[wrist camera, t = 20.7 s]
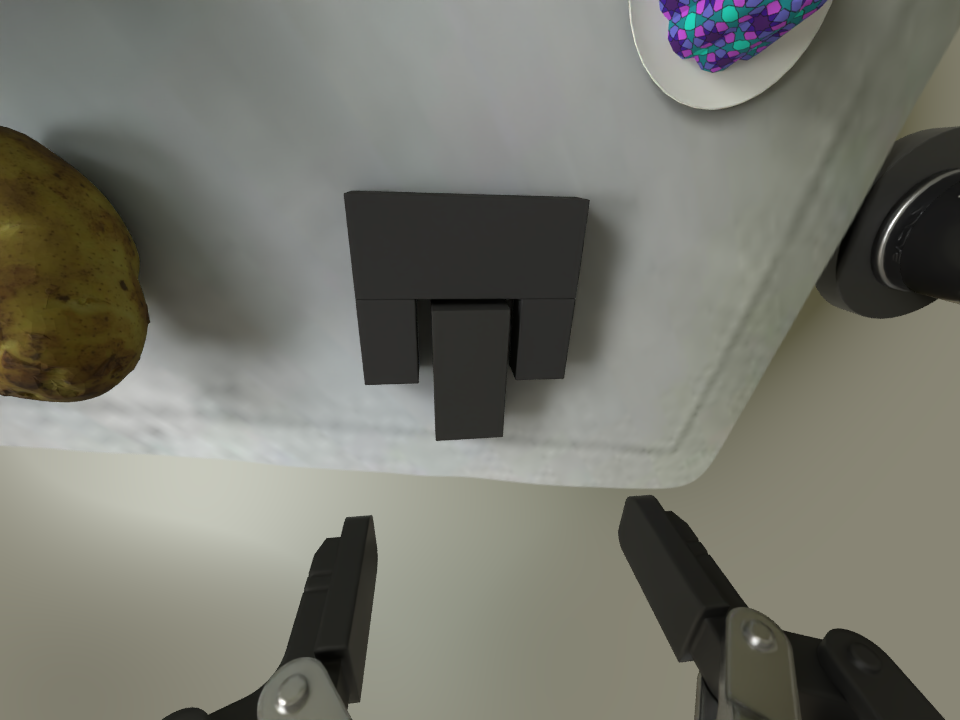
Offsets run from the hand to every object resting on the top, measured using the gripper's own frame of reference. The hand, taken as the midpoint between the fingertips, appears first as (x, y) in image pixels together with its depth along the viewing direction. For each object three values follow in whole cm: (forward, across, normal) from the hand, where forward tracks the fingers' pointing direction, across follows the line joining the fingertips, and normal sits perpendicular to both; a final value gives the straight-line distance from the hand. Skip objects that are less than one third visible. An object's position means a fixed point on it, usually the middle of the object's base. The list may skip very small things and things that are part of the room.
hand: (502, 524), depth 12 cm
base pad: (+18, 0, -3) cm, 18 cm away
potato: (+18, +22, -5) cm, 28 cm away
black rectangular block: (+18, 0, +3) cm, 18 cm away
